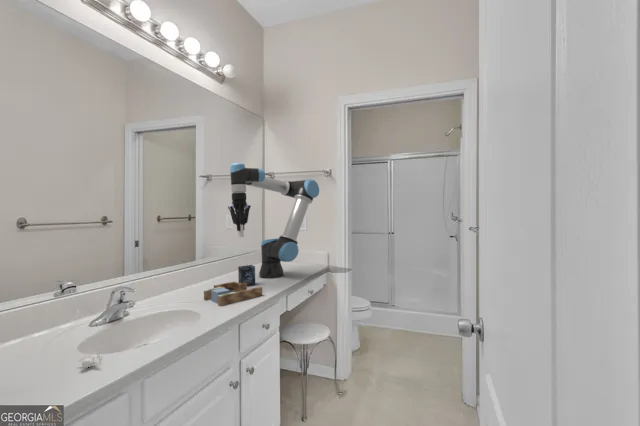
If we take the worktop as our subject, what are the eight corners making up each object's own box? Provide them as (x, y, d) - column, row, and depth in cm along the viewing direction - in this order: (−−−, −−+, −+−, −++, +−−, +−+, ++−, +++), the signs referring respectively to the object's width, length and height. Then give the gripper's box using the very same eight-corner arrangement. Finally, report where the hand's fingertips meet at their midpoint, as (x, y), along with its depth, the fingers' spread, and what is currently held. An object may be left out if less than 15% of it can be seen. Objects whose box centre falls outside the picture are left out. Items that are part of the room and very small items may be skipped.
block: (223, 298, 148) (223, 287, 148) (229, 300, 144) (229, 289, 144) (211, 301, 144) (211, 290, 144) (217, 303, 140) (217, 292, 140)
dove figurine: (68, 368, 82) (74, 348, 83) (84, 366, 86) (90, 347, 88) (94, 370, 80) (99, 350, 82) (109, 368, 84) (114, 349, 86)
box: (241, 287, 169) (241, 267, 169) (238, 285, 174) (238, 266, 174) (255, 285, 173) (255, 265, 173) (251, 283, 178) (251, 264, 178)
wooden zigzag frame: (238, 288, 167) (237, 280, 167) (262, 295, 151) (262, 286, 151) (197, 296, 151) (197, 287, 151) (219, 306, 136) (219, 296, 136)
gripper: (244, 193, 175) (247, 235, 175) (224, 193, 165) (226, 238, 166) (253, 192, 170) (255, 235, 170) (232, 192, 160) (234, 238, 161)
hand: (241, 236), depth 168 cm, fingers closed
